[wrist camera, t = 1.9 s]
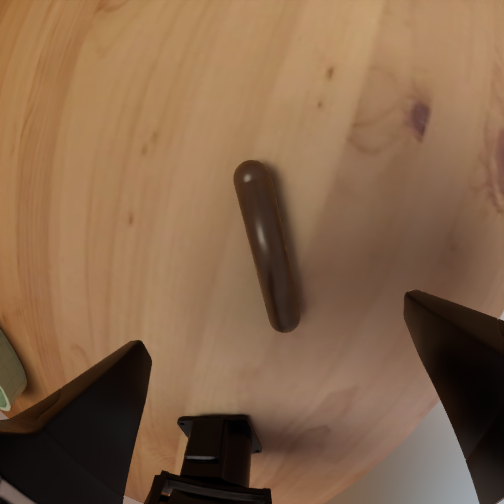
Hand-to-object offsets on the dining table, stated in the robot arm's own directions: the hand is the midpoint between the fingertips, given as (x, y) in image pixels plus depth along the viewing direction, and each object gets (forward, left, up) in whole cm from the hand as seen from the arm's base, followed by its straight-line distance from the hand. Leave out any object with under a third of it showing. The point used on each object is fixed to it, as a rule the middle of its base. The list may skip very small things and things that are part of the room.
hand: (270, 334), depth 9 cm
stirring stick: (0, 0, -8) cm, 8 cm away
